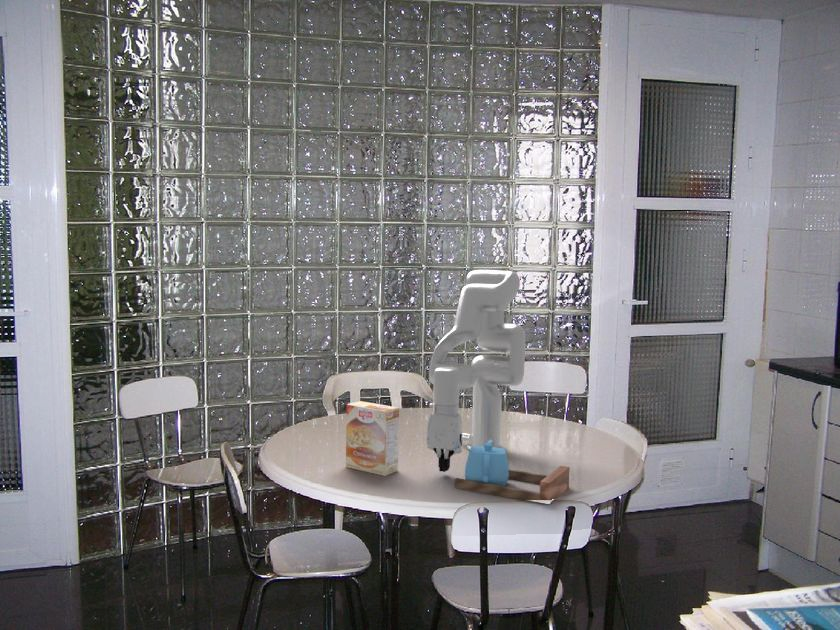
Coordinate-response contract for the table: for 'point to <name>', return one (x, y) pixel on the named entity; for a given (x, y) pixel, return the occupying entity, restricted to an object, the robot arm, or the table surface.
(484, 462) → the teapot
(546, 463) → the table surface
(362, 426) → the coffeecake box
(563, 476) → the guide track
